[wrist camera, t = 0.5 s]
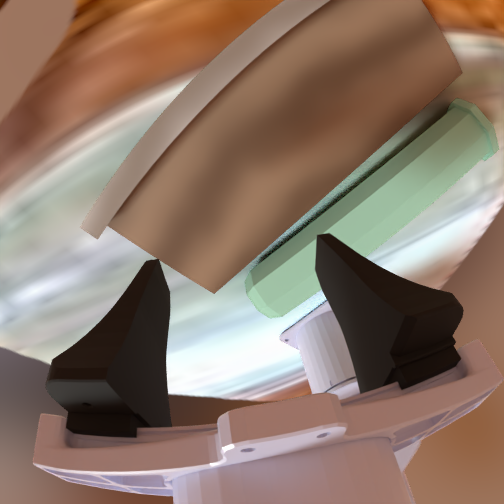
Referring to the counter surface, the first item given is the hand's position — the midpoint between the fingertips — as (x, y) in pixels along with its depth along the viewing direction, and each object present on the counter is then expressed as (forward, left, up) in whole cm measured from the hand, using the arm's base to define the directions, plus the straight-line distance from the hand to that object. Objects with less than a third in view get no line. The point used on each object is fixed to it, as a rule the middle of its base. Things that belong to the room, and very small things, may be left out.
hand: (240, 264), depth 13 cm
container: (-9, -7, -10) cm, 15 cm away
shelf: (+1, -7, -10) cm, 12 cm away
